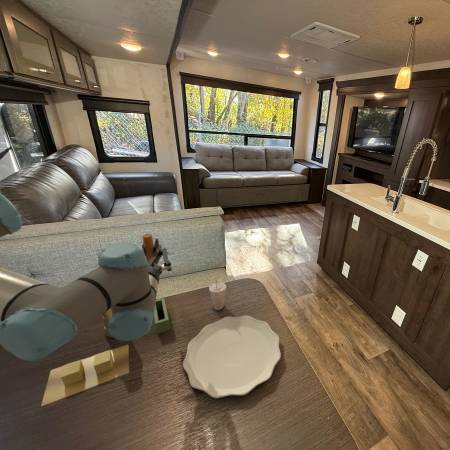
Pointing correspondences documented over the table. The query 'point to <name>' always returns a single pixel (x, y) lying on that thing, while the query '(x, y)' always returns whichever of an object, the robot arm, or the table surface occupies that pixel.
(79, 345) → the table surface
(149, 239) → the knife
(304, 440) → the table surface
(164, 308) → the green rectangular holder
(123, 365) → the cutting board
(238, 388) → the plate
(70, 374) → the butter left
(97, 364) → the butter right
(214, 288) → the smoothie
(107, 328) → the plastic bottle
